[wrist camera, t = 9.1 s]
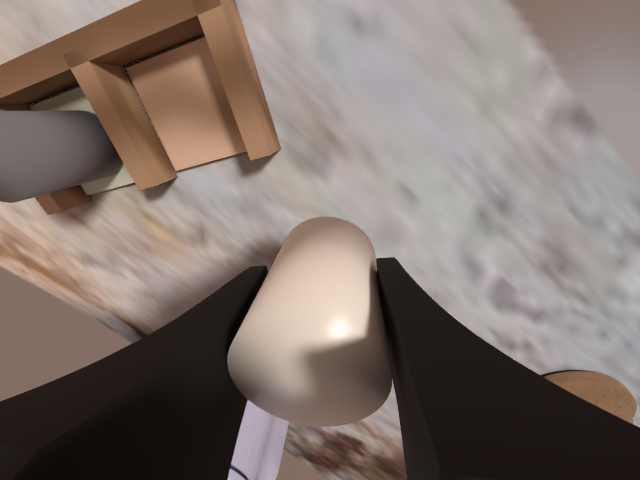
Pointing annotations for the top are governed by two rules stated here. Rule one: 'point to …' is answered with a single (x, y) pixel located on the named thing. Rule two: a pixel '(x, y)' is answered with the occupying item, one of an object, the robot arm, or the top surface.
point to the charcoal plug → (52, 152)
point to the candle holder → (598, 391)
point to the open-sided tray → (151, 90)
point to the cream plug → (316, 330)
